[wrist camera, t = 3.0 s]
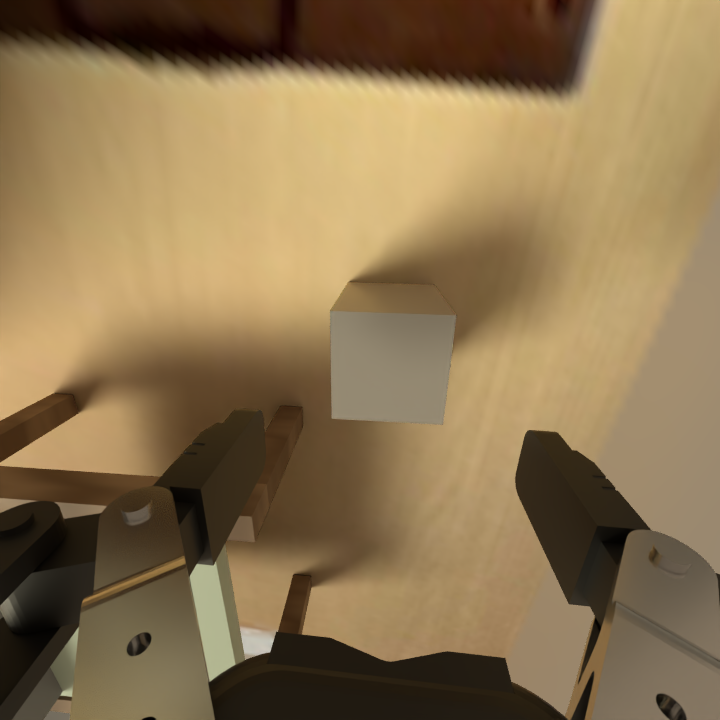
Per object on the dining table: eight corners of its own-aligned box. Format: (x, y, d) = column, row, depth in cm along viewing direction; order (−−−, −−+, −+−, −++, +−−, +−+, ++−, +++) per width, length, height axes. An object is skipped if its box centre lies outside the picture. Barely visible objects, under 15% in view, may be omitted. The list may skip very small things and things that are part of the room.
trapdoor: (42, 672, 23) (-17, 749, 20) (-47, 508, 18) (-147, 575, 14) (251, 695, 22) (226, 779, 19) (222, 529, 17) (181, 605, 14)
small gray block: (348, 281, 21) (330, 310, 14) (434, 284, 20) (456, 315, 14) (347, 361, 22) (331, 418, 16) (426, 364, 22) (442, 424, 16)
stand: (114, 571, 32) (9, 706, 23) (52, 393, 25) (-130, 488, 16) (311, 588, 31) (280, 737, 22) (302, 407, 24) (251, 516, 15)
